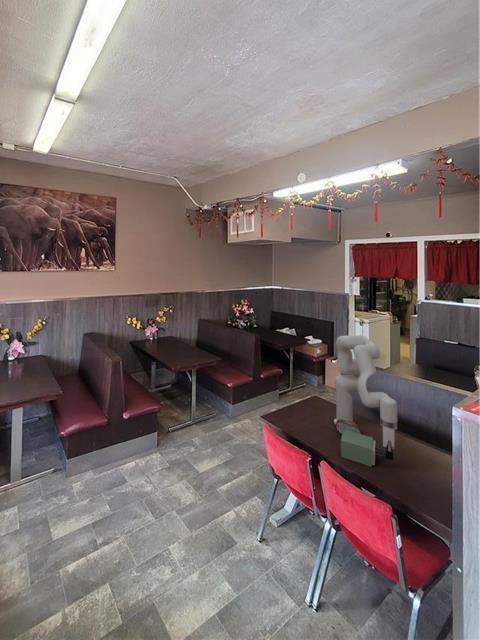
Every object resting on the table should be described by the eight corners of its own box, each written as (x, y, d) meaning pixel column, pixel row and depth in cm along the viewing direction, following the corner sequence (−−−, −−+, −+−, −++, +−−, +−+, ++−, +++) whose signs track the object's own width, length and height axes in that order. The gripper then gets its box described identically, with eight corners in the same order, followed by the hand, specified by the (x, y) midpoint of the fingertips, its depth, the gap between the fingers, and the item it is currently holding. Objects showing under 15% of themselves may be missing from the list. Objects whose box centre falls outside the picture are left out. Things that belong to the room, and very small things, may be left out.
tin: (363, 440, 180) (363, 425, 180) (361, 442, 178) (361, 428, 178) (336, 430, 190) (336, 416, 190) (335, 432, 188) (335, 418, 188)
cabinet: (373, 454, 167) (373, 437, 167) (371, 467, 156) (371, 449, 157) (343, 445, 175) (343, 429, 175) (340, 456, 164) (340, 439, 165)
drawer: (386, 457, 163) (386, 443, 163) (385, 469, 154) (385, 454, 154) (348, 445, 173) (348, 432, 173) (345, 456, 164) (345, 442, 164)
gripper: (380, 415, 166) (381, 449, 166) (380, 427, 154) (381, 464, 153) (396, 418, 163) (397, 453, 162) (398, 431, 150) (399, 469, 149)
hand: (389, 458), depth 157 cm, fingers closed
